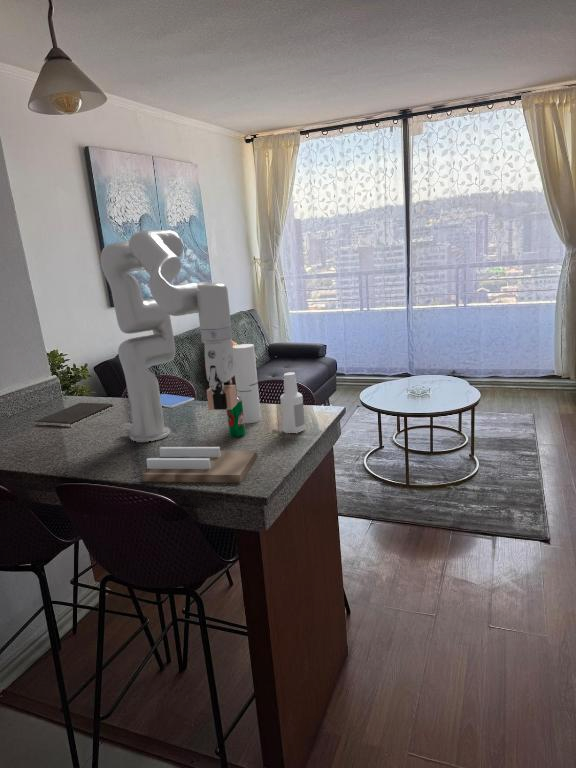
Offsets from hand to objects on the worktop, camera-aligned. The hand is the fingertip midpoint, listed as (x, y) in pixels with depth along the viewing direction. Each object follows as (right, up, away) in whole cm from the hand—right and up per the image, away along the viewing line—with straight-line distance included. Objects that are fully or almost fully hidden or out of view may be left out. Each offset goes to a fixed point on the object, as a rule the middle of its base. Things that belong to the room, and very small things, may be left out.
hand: (224, 405), depth 139 cm
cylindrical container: (+4, -7, +44) cm, 45 cm away
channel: (-11, -15, +6) cm, 20 cm away
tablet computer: (-31, -2, +77) cm, 83 cm away
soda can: (+1, -11, +30) cm, 32 cm away
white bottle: (+18, -9, +30) cm, 36 cm away
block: (0, 0, 0) cm, 1 cm away
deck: (-7, -17, +6) cm, 19 cm away
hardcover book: (-62, -7, +66) cm, 91 cm away
